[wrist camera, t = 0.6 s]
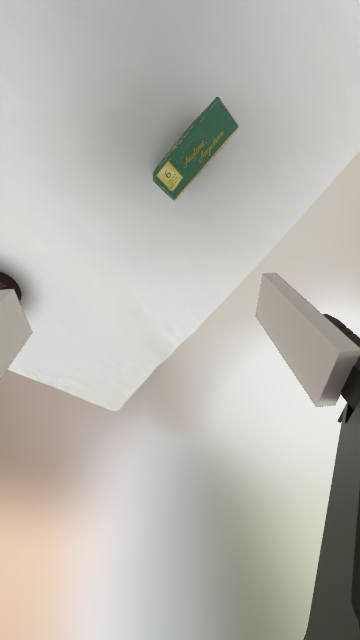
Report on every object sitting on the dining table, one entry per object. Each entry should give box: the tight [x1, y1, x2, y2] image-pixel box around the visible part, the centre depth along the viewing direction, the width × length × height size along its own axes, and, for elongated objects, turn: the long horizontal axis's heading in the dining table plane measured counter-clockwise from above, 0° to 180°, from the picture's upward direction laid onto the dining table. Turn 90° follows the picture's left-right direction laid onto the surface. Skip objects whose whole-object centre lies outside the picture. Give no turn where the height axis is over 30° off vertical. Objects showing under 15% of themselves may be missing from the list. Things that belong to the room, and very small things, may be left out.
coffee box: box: [153, 97, 238, 200], centre depth 26 cm, size 8×3×13 cm, turn 135°
